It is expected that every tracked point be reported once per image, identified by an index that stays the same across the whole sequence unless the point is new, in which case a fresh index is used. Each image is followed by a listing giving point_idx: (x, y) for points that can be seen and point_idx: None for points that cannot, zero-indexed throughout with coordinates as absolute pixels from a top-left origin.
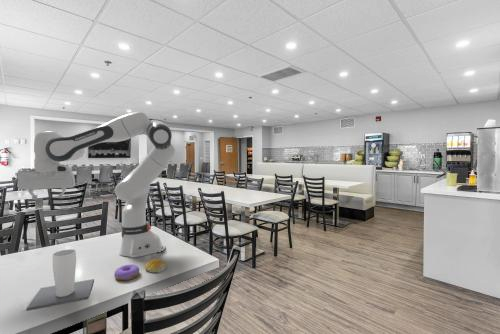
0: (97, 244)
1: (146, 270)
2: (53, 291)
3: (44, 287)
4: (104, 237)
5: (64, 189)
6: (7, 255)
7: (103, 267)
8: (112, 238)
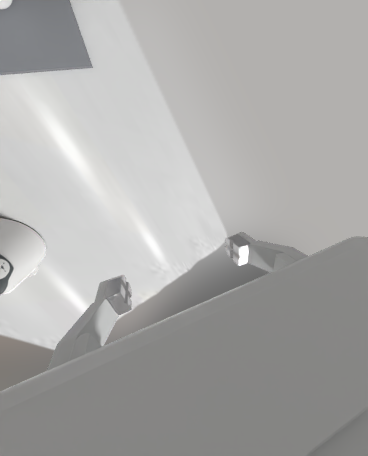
0: None
1: None
2: (42, 23)
3: (85, 66)
4: None
5: (57, 353)
6: None
7: (21, 163)
8: None
